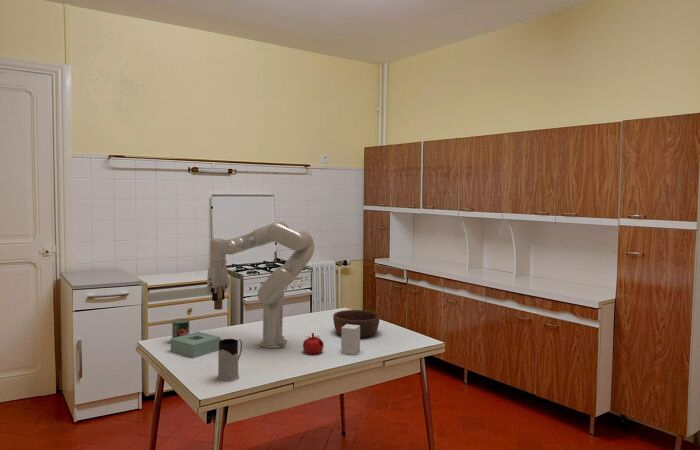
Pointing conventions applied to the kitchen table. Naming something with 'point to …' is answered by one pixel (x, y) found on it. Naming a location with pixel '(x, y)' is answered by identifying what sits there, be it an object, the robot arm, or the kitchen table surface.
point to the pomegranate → (313, 345)
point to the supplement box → (350, 339)
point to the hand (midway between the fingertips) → (218, 299)
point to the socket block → (195, 344)
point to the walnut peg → (218, 299)
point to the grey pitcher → (228, 360)
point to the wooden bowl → (357, 321)
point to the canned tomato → (180, 327)
